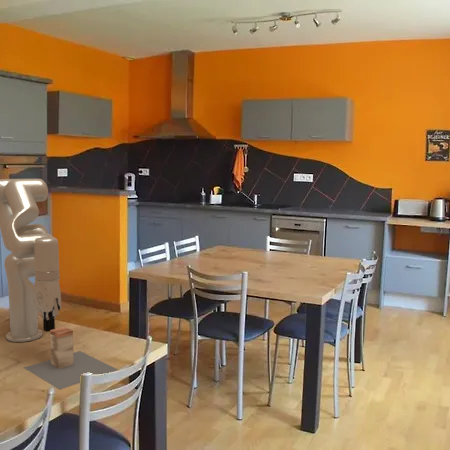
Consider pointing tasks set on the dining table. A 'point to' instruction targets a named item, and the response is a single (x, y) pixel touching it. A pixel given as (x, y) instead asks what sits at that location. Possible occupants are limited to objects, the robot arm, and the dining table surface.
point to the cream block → (61, 347)
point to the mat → (69, 370)
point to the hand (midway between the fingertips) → (49, 330)
